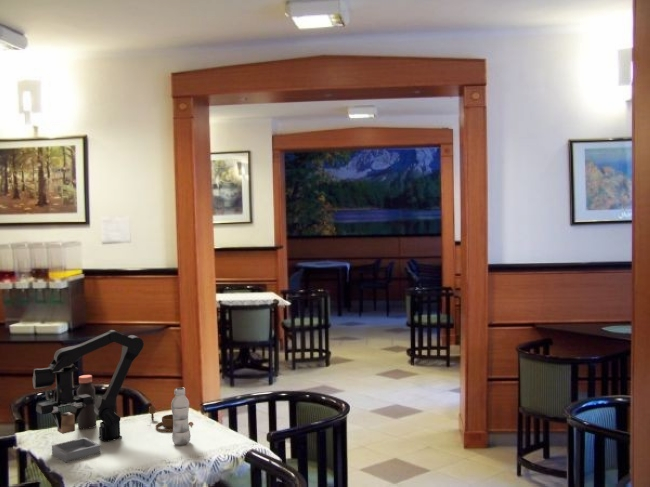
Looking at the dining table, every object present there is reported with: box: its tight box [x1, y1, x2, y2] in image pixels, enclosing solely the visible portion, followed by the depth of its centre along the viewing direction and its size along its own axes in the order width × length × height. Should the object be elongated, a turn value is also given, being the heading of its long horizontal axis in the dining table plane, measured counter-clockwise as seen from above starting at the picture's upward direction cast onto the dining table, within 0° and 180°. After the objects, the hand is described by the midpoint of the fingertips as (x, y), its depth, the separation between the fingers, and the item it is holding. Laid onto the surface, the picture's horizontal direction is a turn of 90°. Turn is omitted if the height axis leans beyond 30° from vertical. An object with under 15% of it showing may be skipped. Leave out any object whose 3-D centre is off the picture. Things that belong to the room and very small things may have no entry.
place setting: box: [148, 405, 194, 433], centre depth 270 cm, size 18×20×6 cm
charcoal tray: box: [51, 436, 101, 464], centre depth 238 cm, size 12×12×3 cm
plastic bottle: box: [170, 387, 192, 446], centre depth 246 cm, size 6×7×20 cm
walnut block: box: [57, 411, 76, 435], centre depth 246 cm, size 4×4×6 cm
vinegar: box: [76, 374, 97, 430], centre depth 269 cm, size 7×7×20 cm
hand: (66, 427), depth 246 cm, fingers closed on walnut block, 4 cm apart
